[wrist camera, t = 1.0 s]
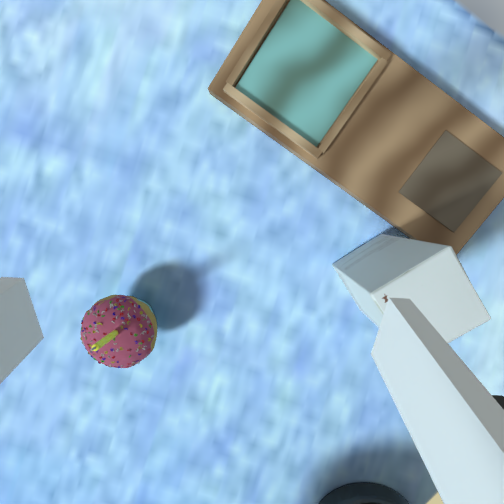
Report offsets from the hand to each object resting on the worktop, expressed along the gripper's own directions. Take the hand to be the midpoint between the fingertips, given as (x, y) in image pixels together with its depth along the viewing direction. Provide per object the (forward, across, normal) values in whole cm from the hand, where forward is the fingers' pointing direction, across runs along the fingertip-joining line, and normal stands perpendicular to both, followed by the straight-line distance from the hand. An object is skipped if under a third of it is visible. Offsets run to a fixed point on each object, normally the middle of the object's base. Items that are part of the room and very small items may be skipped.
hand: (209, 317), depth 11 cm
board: (+27, -14, -6) cm, 31 cm away
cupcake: (+21, +12, +18) cm, 30 cm away
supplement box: (+22, -17, +10) cm, 30 cm away
